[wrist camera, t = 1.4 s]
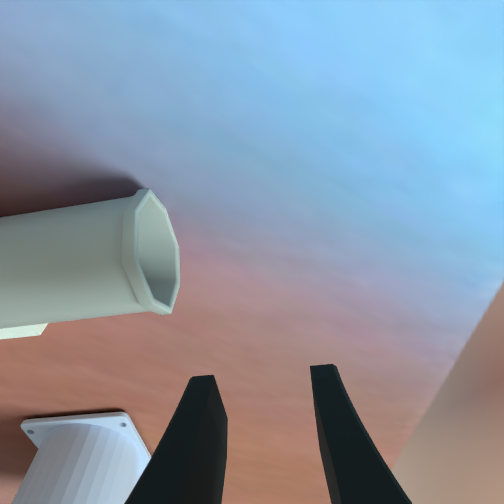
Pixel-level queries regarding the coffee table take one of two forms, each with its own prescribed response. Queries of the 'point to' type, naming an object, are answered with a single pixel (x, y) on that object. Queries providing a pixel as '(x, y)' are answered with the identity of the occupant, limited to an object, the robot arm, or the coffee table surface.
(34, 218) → the tube
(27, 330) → the rails
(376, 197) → the coffee table surface
